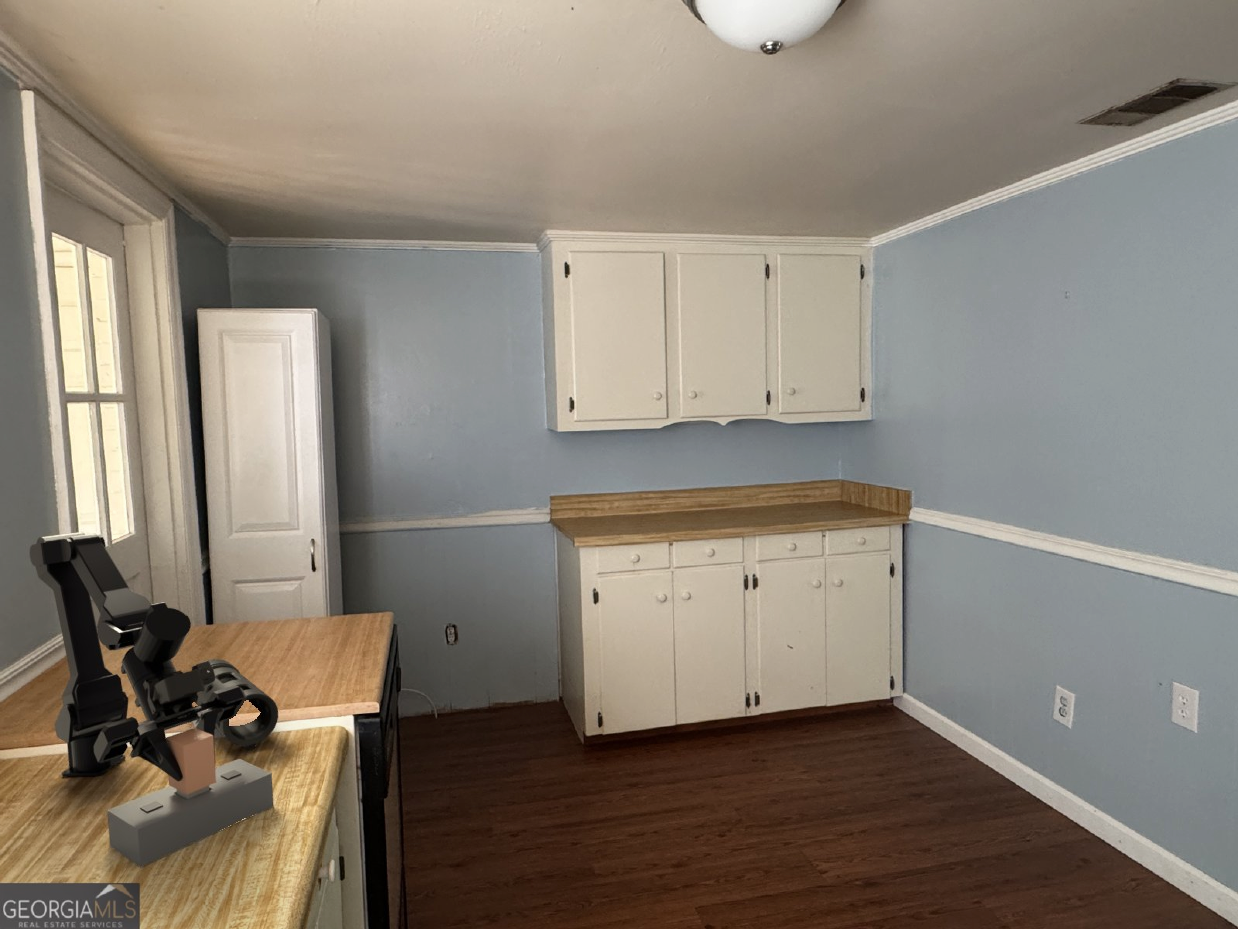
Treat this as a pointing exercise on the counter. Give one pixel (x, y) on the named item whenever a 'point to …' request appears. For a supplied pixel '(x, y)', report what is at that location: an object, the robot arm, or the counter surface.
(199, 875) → the counter surface
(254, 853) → the counter surface
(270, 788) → the socket block
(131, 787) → the counter surface
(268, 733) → the muzzle brake
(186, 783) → the plug
